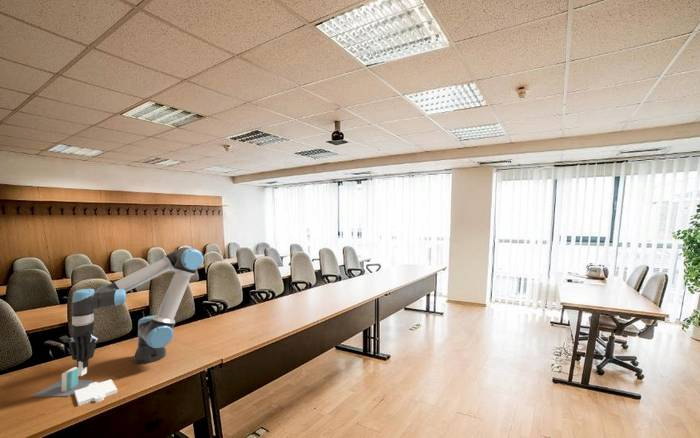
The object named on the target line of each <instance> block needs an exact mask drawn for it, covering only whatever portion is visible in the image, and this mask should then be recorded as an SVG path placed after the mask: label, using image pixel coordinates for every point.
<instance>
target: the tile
mask: <svg viewBox="0 0 700 438" xmlns="http://www.w3.org/2000/svg"><path fill="white" fill-rule="evenodd" d="M61 380H62V391H68V390H69V389H71V388H73V387H74V386H76V385H78V380H79V376H78V368H77V366H73V367H72V368H70V369H68V370H66V371H64V372H63V373H61Z"/></svg>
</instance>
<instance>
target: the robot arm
mask: <svg viewBox="0 0 700 438" xmlns="http://www.w3.org/2000/svg"><path fill="white" fill-rule="evenodd" d="M203 264H204V255H203V253H202V252H201V251H200V250H198V249H196V248H191V247H181V248H179V249H176V250H174V251H171V252H170V253H168V254H166V255H164V256H163V258H162V259H159V260H157V261H156V262H154V263H151V264H149V265H147V266H145V267H143V268H141V269H139V270H136V271H135V272H132V273H131V274H128V275H127V276H125V277H122V278H120V279H119V280H115V281H114V282H112V283H110V284H108V285H102V286H100V287H99V288H97V289H96V291H95V289H94V288H82V289H78V290H76V291H74V292H73V293H72V301H71V303H72V304H71V306H72V307H71V308H72V309H71V312H72V313H71V316H72V317H71V324H72V326H71V333H72V337H70V338H68V339H66V342H67V344H68V347H69V352H70V355H71V358H72V359H71V360H73V361H76V363H77V364H76V367H77V368H78V377H83V376H84V375H86V374H87V373H88V366H89V360H91V359H92V358H93V357H94V355H95V350H96V348H97V347H96V346H97V343H98V341H99V338H100V337H98V336H97V337H96V336H95V335H94V329H95V322H94V321H95V309H102V308H108V307H115V306H117V307H118V306H119V305H124V304H125V303H126V302H127V292H129V291H131V290H133V289H135V288H137V287H139V286H140V285H142V284H145V283H148V281H151V280H153V279H155V278H156V277H158V276H160V275H163V274H165V273H166V272H168V271H174V274H173V276H172V278H171V281H170V283H169V285H168V288H167V290H166V293H165V295H164V298H163V299H162V302H161V304H160V307H159V308H158V311H157V314H155V315H149V316H144V317H142V318H140V319H138V323H137V348H136V351H135V354H134V355H133V361H134V362H133V363H136V364H148V363H153V362H156V361H158V360H161V359H163V358H164V357H166V355H167V348H166V347H165V346H167V345H169V344H170V343H171V341H172V340H173V338H174V327H175V325H176V320H175V317H176V314H177V311H178V309H179V307H180V304H181V302H182V300H183V296H184V295H185V292H186V290H187V287H188V285H189V283H190V280H191V277H192V276H195V275H196V273H197V270H198V269H200V268H201V267H202V265H203Z"/></svg>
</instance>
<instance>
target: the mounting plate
mask: <svg viewBox="0 0 700 438" xmlns="http://www.w3.org/2000/svg"><path fill="white" fill-rule="evenodd" d="M117 393H118V388H117V385H115V383H114V381H113V380H112V379H110V378H109V379H108V380H105V381H99V382H98V381H93V382H91V383H89V384H88V385H86V386H85V387H83V388H81V389H78V390H75V391H74V393H73V395H74V397H75V400H76V403H77V406H78V407H80V406H83V405H85V403H86V404H89V403H92V402H94V401H95V402H94V403H99V402H102V401H104V399H105V398H106V397H108V396H111V395H115V394H117ZM91 401H92V402H91ZM88 402H89V403H88ZM82 404H83V405H82ZM79 405H80V406H79Z"/></svg>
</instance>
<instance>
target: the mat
mask: <svg viewBox="0 0 700 438" xmlns="http://www.w3.org/2000/svg"><path fill="white" fill-rule="evenodd" d="M93 382H95V381H94V379H78V385H76V386H74V387H73V388H71V389H69V390H68V391H62V379H60V380H58V381H56V382H54V383H53V384H51V385H49V386H47V387H45V388H43V389H42V390H40V391H38V392H36V393H34V394H33V395H31V397H32V398H44V397H45V398H52V397H53V398H54V397H55V398H65V397H66V398H68V397H71V396H72V395H74V391H75V390H78V389H81V388H85V387H87V386H89V384H90V383H93Z"/></svg>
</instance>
